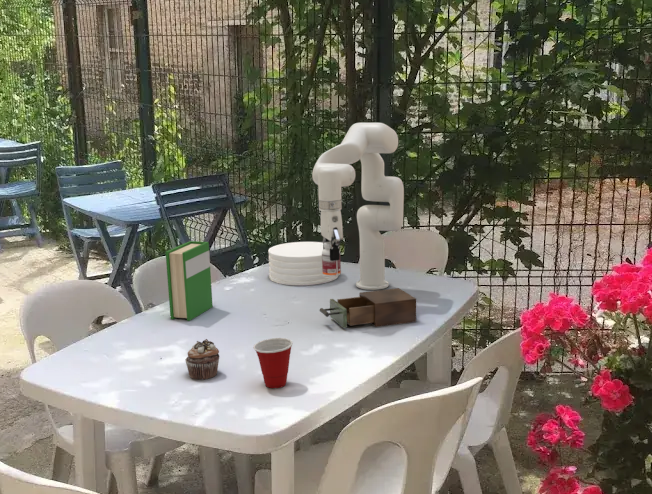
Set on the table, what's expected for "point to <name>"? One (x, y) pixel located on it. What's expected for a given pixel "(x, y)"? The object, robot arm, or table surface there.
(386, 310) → the cabinet
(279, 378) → the plastic cup
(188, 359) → the cupcake
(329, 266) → the pill bottle
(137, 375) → the table surface
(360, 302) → the drawer
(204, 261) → the hardback book
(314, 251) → the plate stack
